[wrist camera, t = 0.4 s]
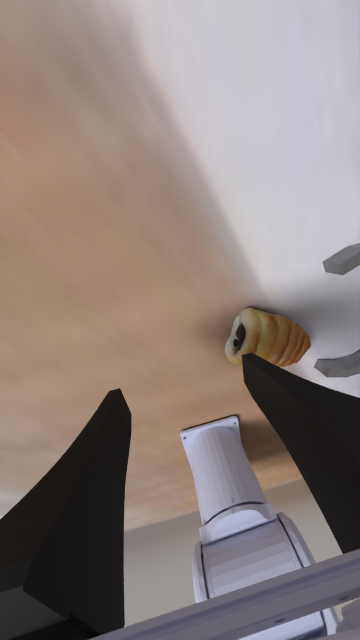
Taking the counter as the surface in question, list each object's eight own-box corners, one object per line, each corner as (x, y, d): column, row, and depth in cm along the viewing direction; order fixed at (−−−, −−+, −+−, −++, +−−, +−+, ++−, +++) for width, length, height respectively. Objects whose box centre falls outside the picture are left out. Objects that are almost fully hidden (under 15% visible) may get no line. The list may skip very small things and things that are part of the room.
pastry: (309, 318, 23) (339, 332, 19) (284, 365, 25) (306, 386, 22) (237, 302, 21) (255, 315, 17) (217, 356, 23) (229, 378, 19)
